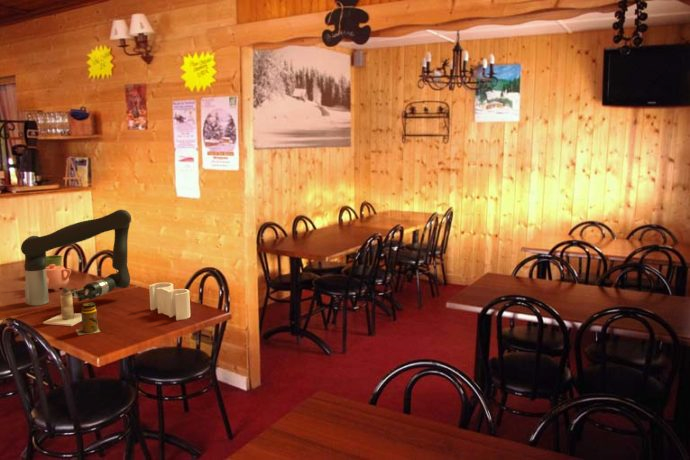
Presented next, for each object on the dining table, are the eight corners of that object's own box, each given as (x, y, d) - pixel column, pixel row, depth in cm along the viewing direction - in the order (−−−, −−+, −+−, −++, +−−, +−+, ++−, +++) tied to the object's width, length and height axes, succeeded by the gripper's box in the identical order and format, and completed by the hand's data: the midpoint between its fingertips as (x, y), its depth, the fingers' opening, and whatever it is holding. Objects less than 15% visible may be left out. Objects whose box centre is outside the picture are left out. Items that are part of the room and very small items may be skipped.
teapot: (43, 295, 294) (41, 269, 292) (31, 289, 305) (29, 264, 303) (75, 288, 306) (73, 264, 304) (62, 283, 317) (60, 259, 315)
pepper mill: (59, 319, 254) (57, 288, 252) (66, 316, 259) (64, 285, 256) (69, 320, 253) (66, 289, 251) (76, 316, 258) (73, 286, 255)
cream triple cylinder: (195, 316, 262) (194, 291, 260) (176, 321, 255) (175, 295, 253) (167, 305, 279) (166, 281, 277) (148, 309, 272) (147, 284, 270)
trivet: (43, 323, 251) (43, 322, 250) (64, 313, 264) (64, 312, 264) (71, 326, 248) (71, 324, 248) (91, 316, 261) (91, 314, 261)
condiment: (100, 332, 241) (98, 304, 239) (78, 335, 237) (76, 308, 235) (97, 327, 247) (95, 300, 245) (75, 330, 243) (73, 303, 241)
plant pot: (67, 273, 339) (66, 255, 337) (58, 278, 327) (56, 259, 325) (47, 273, 338) (46, 254, 336) (37, 278, 327) (35, 259, 325)
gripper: (83, 280, 274) (57, 289, 259) (108, 282, 270) (83, 291, 254) (84, 295, 275) (58, 304, 260) (109, 298, 271) (84, 307, 256)
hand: (71, 298), depth 257 cm, fingers open, 8 cm apart
